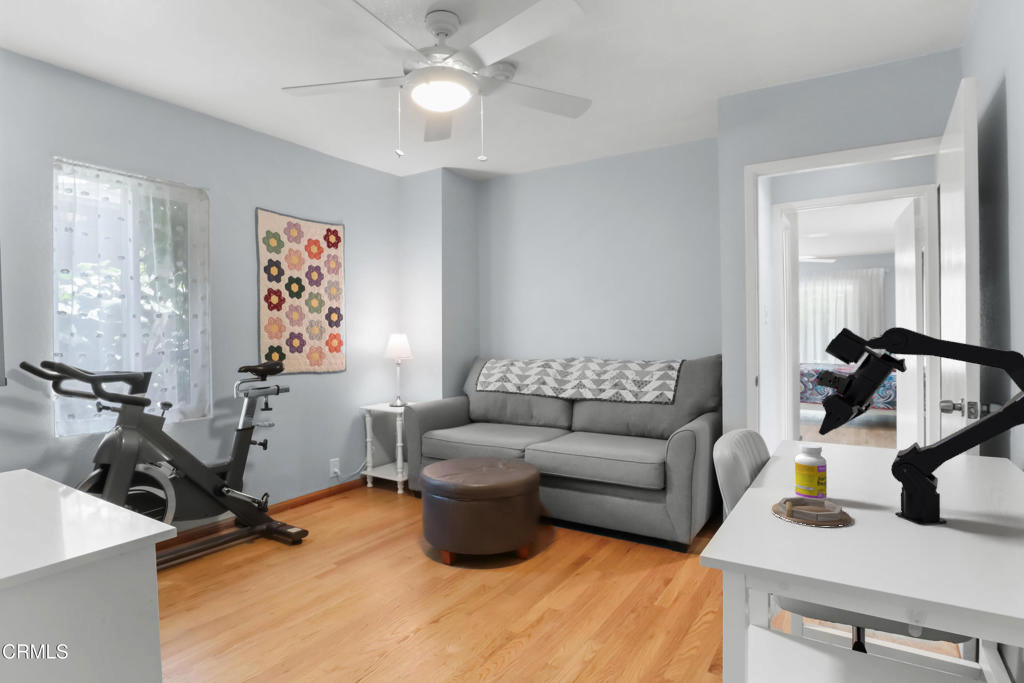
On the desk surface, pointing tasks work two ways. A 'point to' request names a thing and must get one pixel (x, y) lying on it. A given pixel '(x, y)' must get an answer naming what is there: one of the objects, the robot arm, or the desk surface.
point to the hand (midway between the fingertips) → (827, 430)
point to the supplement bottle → (810, 473)
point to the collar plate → (811, 511)
